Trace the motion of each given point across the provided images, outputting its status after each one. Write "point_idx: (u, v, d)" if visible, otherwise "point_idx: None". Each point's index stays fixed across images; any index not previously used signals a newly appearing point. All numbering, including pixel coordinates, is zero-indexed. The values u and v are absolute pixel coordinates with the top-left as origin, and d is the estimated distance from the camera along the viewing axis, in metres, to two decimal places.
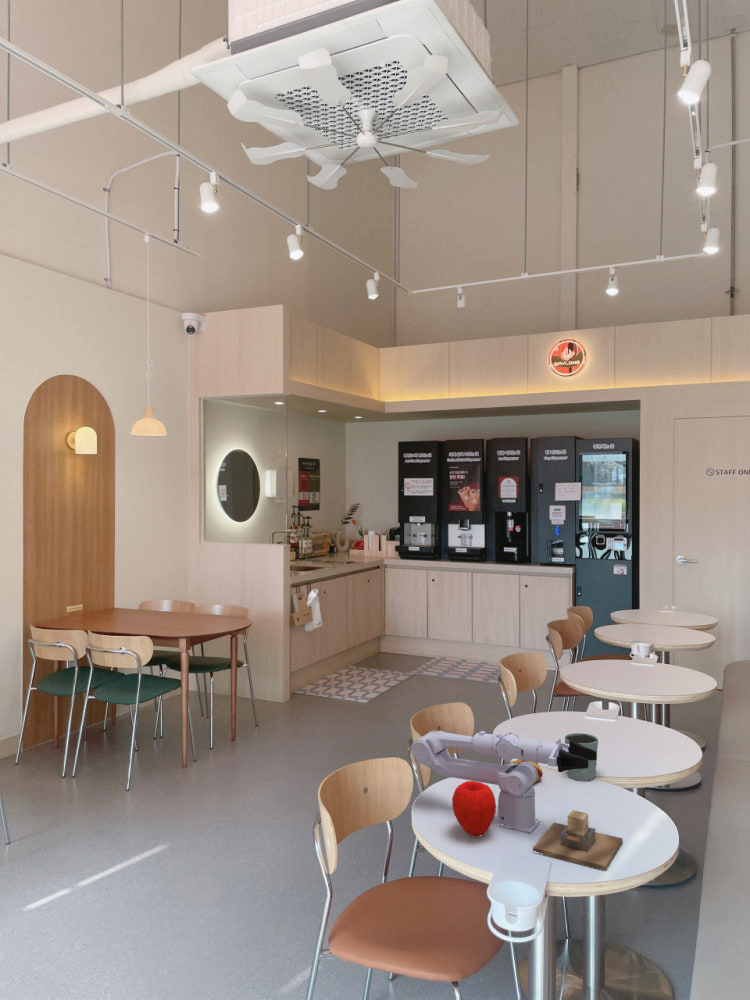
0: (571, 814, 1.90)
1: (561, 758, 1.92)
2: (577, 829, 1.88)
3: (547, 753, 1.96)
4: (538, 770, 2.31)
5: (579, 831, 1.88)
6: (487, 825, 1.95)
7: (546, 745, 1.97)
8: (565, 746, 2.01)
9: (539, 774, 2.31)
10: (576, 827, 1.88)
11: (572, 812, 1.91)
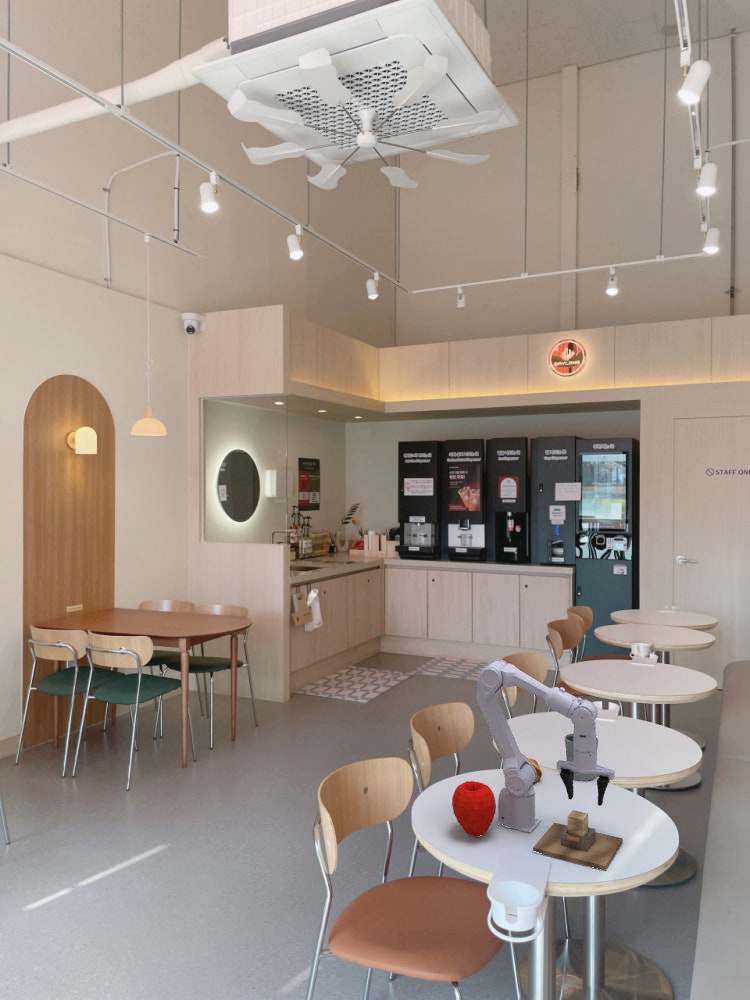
0: (571, 814, 1.90)
1: None
2: (577, 829, 1.88)
3: None
4: (537, 770, 2.31)
5: (579, 831, 1.88)
6: (487, 825, 1.95)
7: None
8: None
9: (538, 774, 2.31)
10: (576, 827, 1.88)
11: (572, 812, 1.91)
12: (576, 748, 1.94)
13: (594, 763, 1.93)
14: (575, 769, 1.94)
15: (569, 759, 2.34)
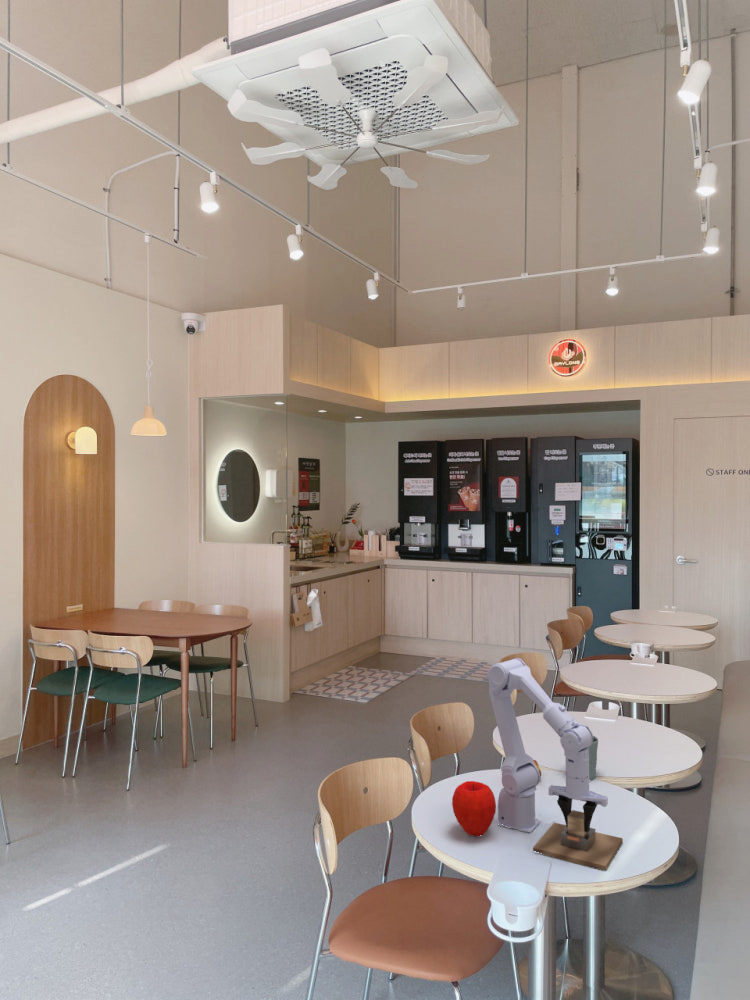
0: (571, 814, 1.90)
1: None
2: (577, 829, 1.88)
3: None
4: None
5: (579, 831, 1.88)
6: (487, 825, 1.95)
7: None
8: None
9: None
10: (576, 827, 1.88)
11: (572, 812, 1.91)
12: (566, 772, 1.89)
13: (587, 790, 1.87)
14: (567, 795, 1.88)
15: None
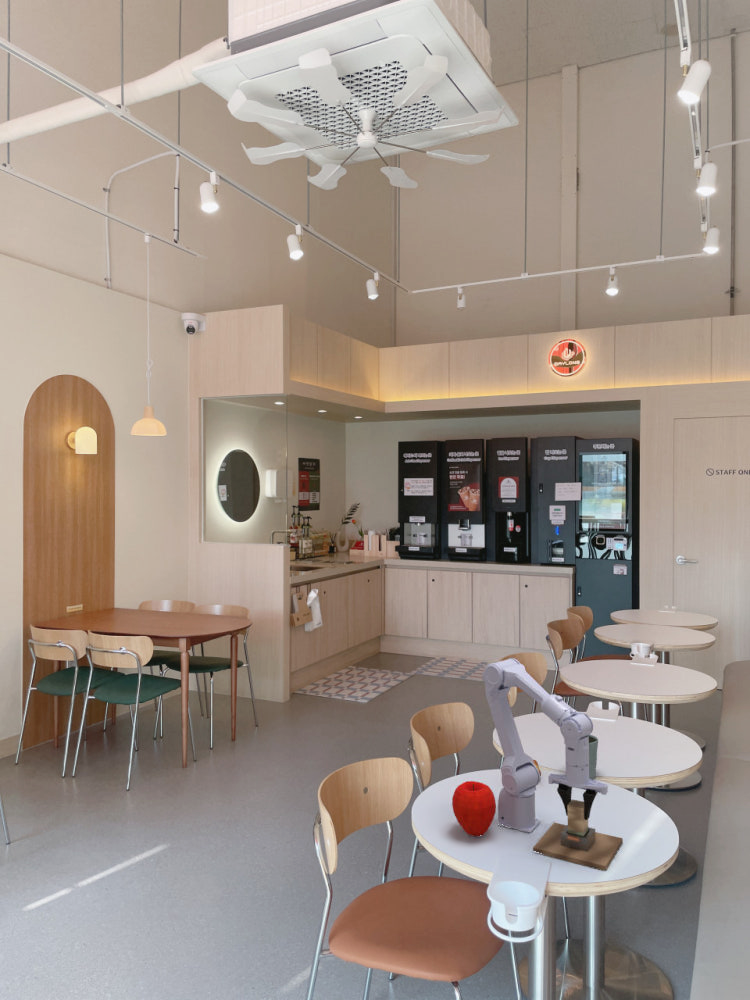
0: (570, 803, 1.90)
1: None
2: (576, 818, 1.88)
3: None
4: None
5: (579, 820, 1.87)
6: (487, 825, 1.95)
7: None
8: None
9: None
10: (576, 816, 1.88)
11: (572, 801, 1.91)
12: (566, 760, 1.89)
13: (587, 778, 1.87)
14: (567, 783, 1.88)
15: None
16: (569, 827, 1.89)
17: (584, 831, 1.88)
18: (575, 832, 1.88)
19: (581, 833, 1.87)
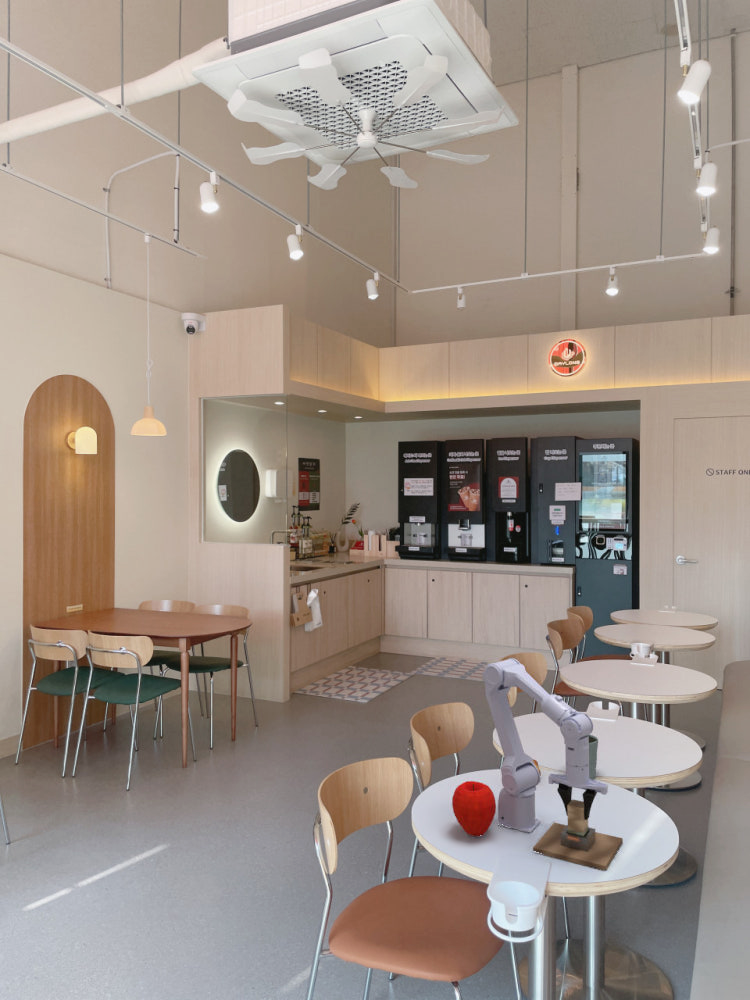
0: (570, 803, 1.90)
1: None
2: (576, 818, 1.88)
3: None
4: None
5: (579, 820, 1.87)
6: (487, 825, 1.95)
7: None
8: None
9: None
10: (576, 816, 1.88)
11: (572, 801, 1.91)
12: (566, 760, 1.89)
13: (587, 778, 1.87)
14: (567, 783, 1.88)
15: None
16: (569, 827, 1.89)
17: (584, 831, 1.88)
18: (575, 832, 1.88)
19: (581, 833, 1.87)
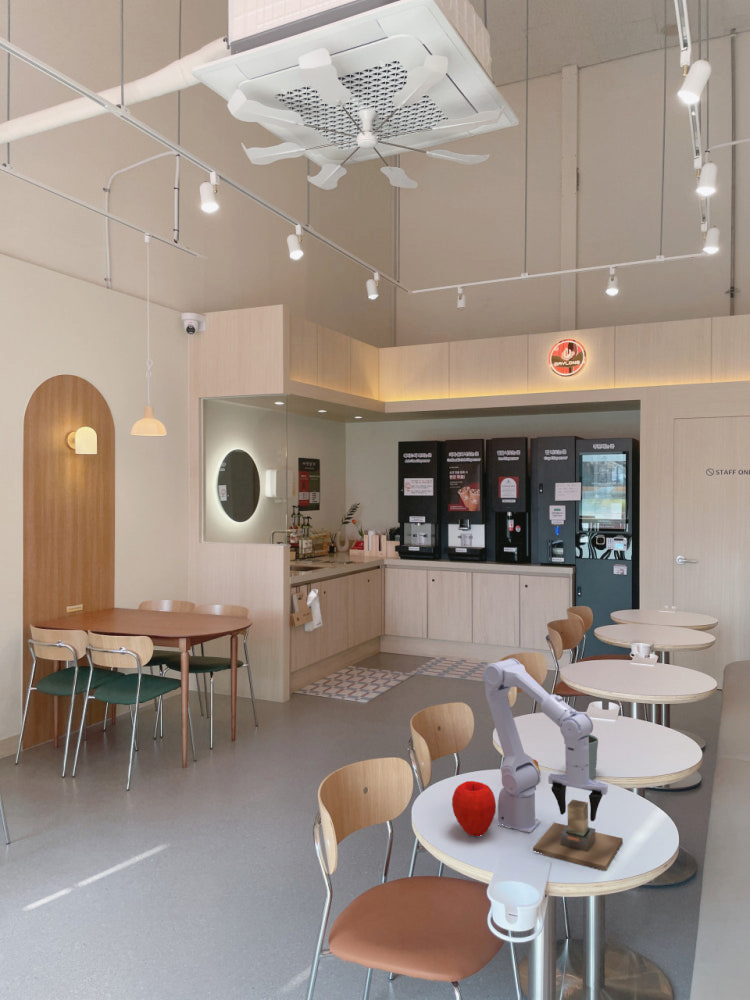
0: (570, 803, 1.90)
1: None
2: (576, 818, 1.88)
3: None
4: None
5: (579, 820, 1.87)
6: (487, 825, 1.95)
7: None
8: None
9: None
10: (576, 816, 1.88)
11: (572, 801, 1.91)
12: (566, 760, 1.89)
13: (587, 778, 1.87)
14: (567, 783, 1.88)
15: None
16: (569, 827, 1.89)
17: (584, 831, 1.88)
18: (575, 832, 1.88)
19: (581, 833, 1.87)
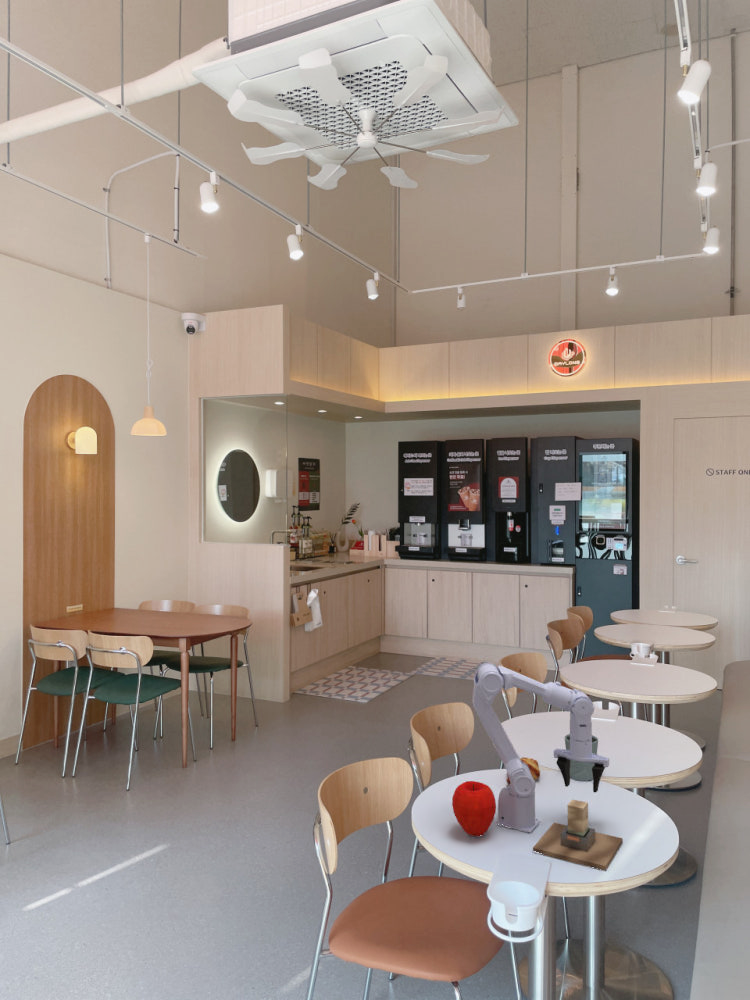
0: (570, 803, 1.90)
1: None
2: (576, 818, 1.88)
3: (591, 749, 2.01)
4: (535, 770, 2.31)
5: (579, 820, 1.87)
6: (487, 825, 1.95)
7: None
8: None
9: (536, 774, 2.31)
10: (576, 816, 1.88)
11: (572, 801, 1.91)
12: (576, 738, 2.00)
13: (590, 752, 2.00)
14: (571, 757, 2.01)
15: None
16: (569, 827, 1.89)
17: (584, 831, 1.88)
18: (575, 832, 1.88)
19: (581, 833, 1.87)
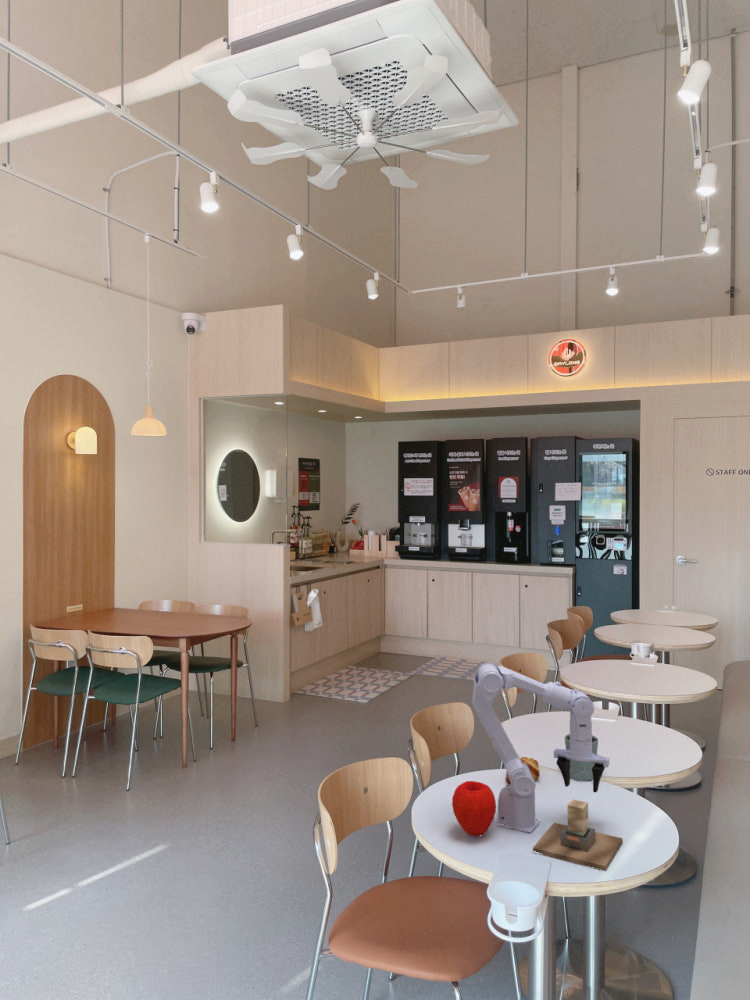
0: (570, 803, 1.90)
1: None
2: (576, 818, 1.88)
3: (591, 749, 2.01)
4: (535, 770, 2.31)
5: (579, 820, 1.87)
6: (487, 825, 1.95)
7: None
8: None
9: (536, 774, 2.31)
10: (576, 816, 1.88)
11: (572, 801, 1.91)
12: (576, 738, 2.00)
13: (590, 752, 2.00)
14: (571, 757, 2.01)
15: None
16: (569, 827, 1.89)
17: (584, 831, 1.88)
18: (575, 832, 1.88)
19: (581, 833, 1.87)
